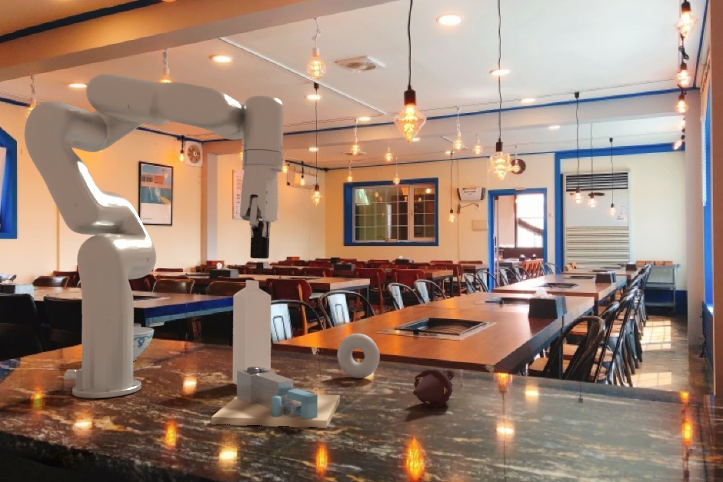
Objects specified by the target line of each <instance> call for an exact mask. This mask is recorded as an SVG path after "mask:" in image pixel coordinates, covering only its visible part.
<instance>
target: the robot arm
mask: <svg viewBox="0 0 723 482" xmlns="http://www.w3.org/2000/svg"><path fill="white" fill-rule="evenodd" d="M85 92H86V98H87V101H88V103H89V104H90V106H91V107H92V108H93V109H94V110H95V111H94V112H91V111H90V110H86V109H83V108H81V107H78V106H75V105H72V104H69V103H67V102H62V101H55V100H52V101H51V100H50V101H49V100H48V101H44V102H41V103H39V104H37V105H35V106H34V107H33V108H32V109H31V111H30V112H29V114H28V116H27V118H26V121H25V125H24V136H23V137H24V143H25V147H26V150H27V152H28V153H27V154H28V155H29V157H30V160H31V161H32V163H33V164H34V166H35V168H36V170H37V171H38V172H39V174H40V176H41V178H42V179H43V181H44V183H45V185H46V187H47V190H48V192H49V194H50V195H51V197H52V200H53V202H54V204H55V205H56V208H57V209H58V211H59V214H60V216H61V217H62V219H63V221H64V223H65V224H66V226H67V227H68V229H70V231H72V232H74V233H76V234H80V235H88V236H90V235H91V237H89V238H87V239H86V240H85V241H84V242H83V243H82V244H81V245H80V247H79V249H78V252H77V257H76V258H77V259H76V262H77V269H78V271H77V272H78V274H79V275H78V276H79V282H80V287H81V316H82V317H81V367H80V368H79V369H67V370H66V371H65V373H64V376H63V380H64V381H69V382H72V381H74V382H75V386H73V387H72V391H71V393H72V395H73V396H75V397H78V398H85V399H104V398H115V397H121V396H126V395H129V394H132V393H135V392H138V391H139V390H140V389H141V388H142V382H141V381H140V380H138V379H135V378H134V362H133V337H134V327H135V326H134V322H135V321H134V320H135V319H134V317H135V314H134V313H135V312H134V311H135V309H134V308H135V306H134V305H135V303H134V295H133V294H134V293H133V291H132V287H131V284H130V281H129V280H135V279H136V280H137V279H141V278H143V277H145V276H147V275H149V274H150V273H151V272H152V271H153V269H154V268H155V266H156V262H157V252H156V248H155V245H154V244H153V241H152V239H151V237H150V235H149V233H148V231H147V229H146V227H145V226H144V224H143V222H142V220H141V217H139V214H138V213H137V211H136V209H135V207H134V206H133V204H132V203H131V202H130V201H129V200H128V199H127V198H126V197H125V196H123V195H121V194H119V193H116V192H112V191H105V190H103V189H102V188H100V187H99V186H98V184H97V183H96V182H95V179H94V178H93V176H92V174H91V172H90V170H89V169H88V166H87V165H86V164H85V162H84V161H83V160H82V159H81V158H80V157H79V155H78V154H77V153H76V152H75V151H74V150H73V149H76V150H80V151H83V152H89V153H96V152H101V151H104V150H106V149H108V148H109V147H111V146H113V145H114V144H115V143H117V142H118V141H120V140H122V139H123V138H124V137H126V136H127V135H129V134H130V133H132V132H133V131H135V130H136V129H138V128H140V126H142V125H143V124H146V125H152V126H154V127H155V126H157V127H163V126H165V125H167V124H168V123H170V122H171V123H177V124H182V125H186V126H187V125H188V126H192V127H197V128H201V129H204V130H207V131H209V132H211V133H214V134H216V135H217V136H220V137H222V138H224V139H227V140H235V141H236V140H242V145H243V146H242V166H241V167H242V168H241V169H242V170H243V174H242V175H243V176H242V182H241V192H240V193H241V194H240V207H239V216H240V219H241V220H242V221H247V222H249V226H250V250H249V251H250V253H249V256H250V259H259V260H260V259H262V260H263V259H264V260H265V259H266V260H267V259H269V257H270V235H271V234H270V233H271V232H270V231H271V226H272V224H271V223H273V222H276V221H277V219H278V218H277V217H278V207H279V206H278V203H279V200H278V199H279V198H278V197H279V196H278V195H279V193H278V192H279V191H278V188H279V187H278V173H281V172H283V154H284V153H283V149H284V147H283V146H284V145H283V143H284V115H285V114H284V113H285V111H284V110H285V109H284V104H283V102H282V101H281V100H280V99H279V98H277V97H273V96H269V95H254V96H250V97H248V98H246V99H245V102H241V101H238V100H237V99H234V98H233V97H232V96H229V95H228V94H226V93H225V92H223V91H221V90H219V89H217V88H216V89H215V88H212V87H207V86H203V85H199V84H197V85H196V84H192V83H185V82H175V81H172V82H159V81H153V80H147V79H141V78H137V77H131V76H127V75H121V74H115V73H101V74H97V75H96V76H94V77H92V78H91V79H90V81H88V83H87V86H86V89H85Z"/></svg>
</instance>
